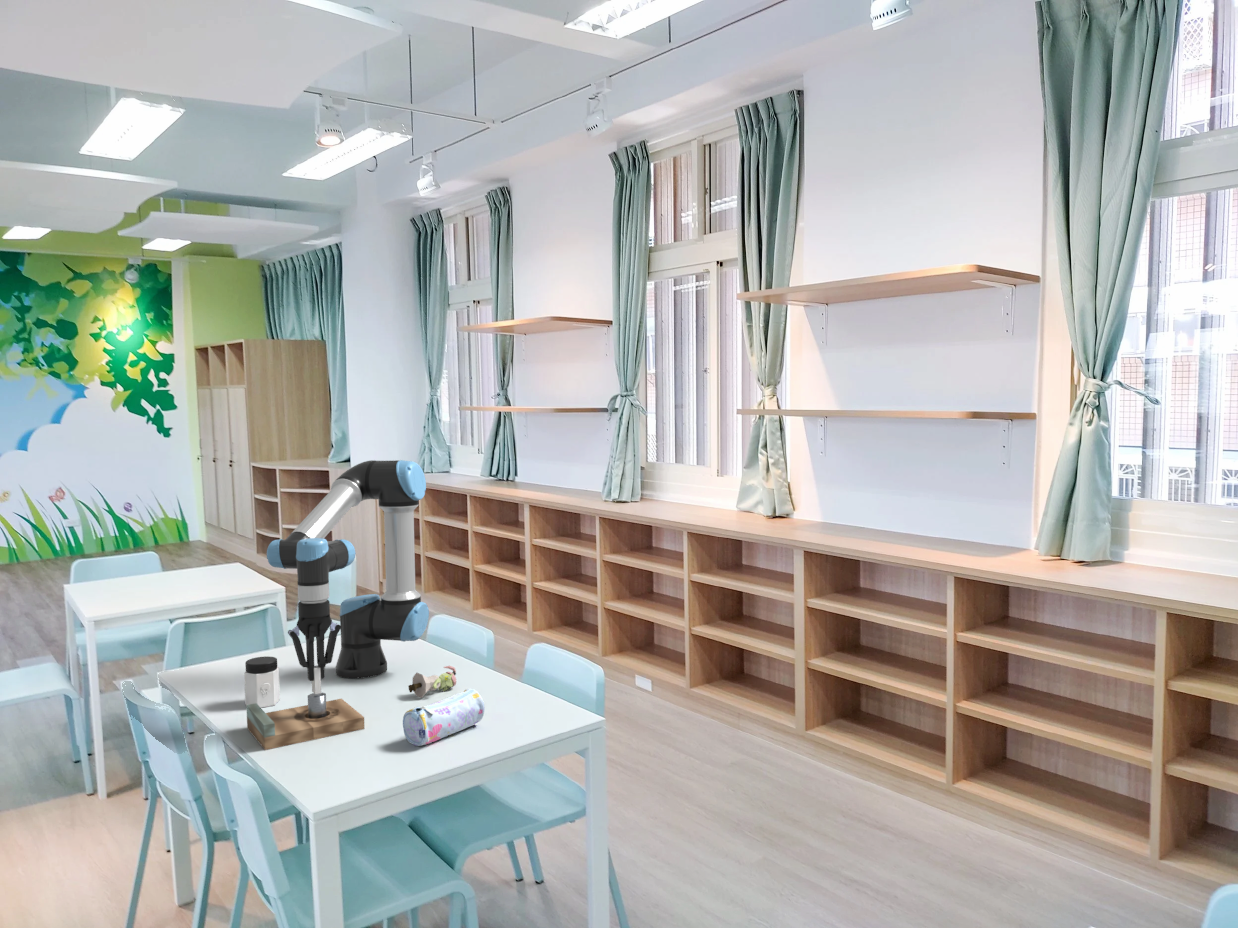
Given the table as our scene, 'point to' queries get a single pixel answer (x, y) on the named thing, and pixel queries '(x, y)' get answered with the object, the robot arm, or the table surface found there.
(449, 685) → the figurine
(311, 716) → the grey metal cylinder
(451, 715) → the pencil case
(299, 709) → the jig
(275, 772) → the table surface
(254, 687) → the jar
